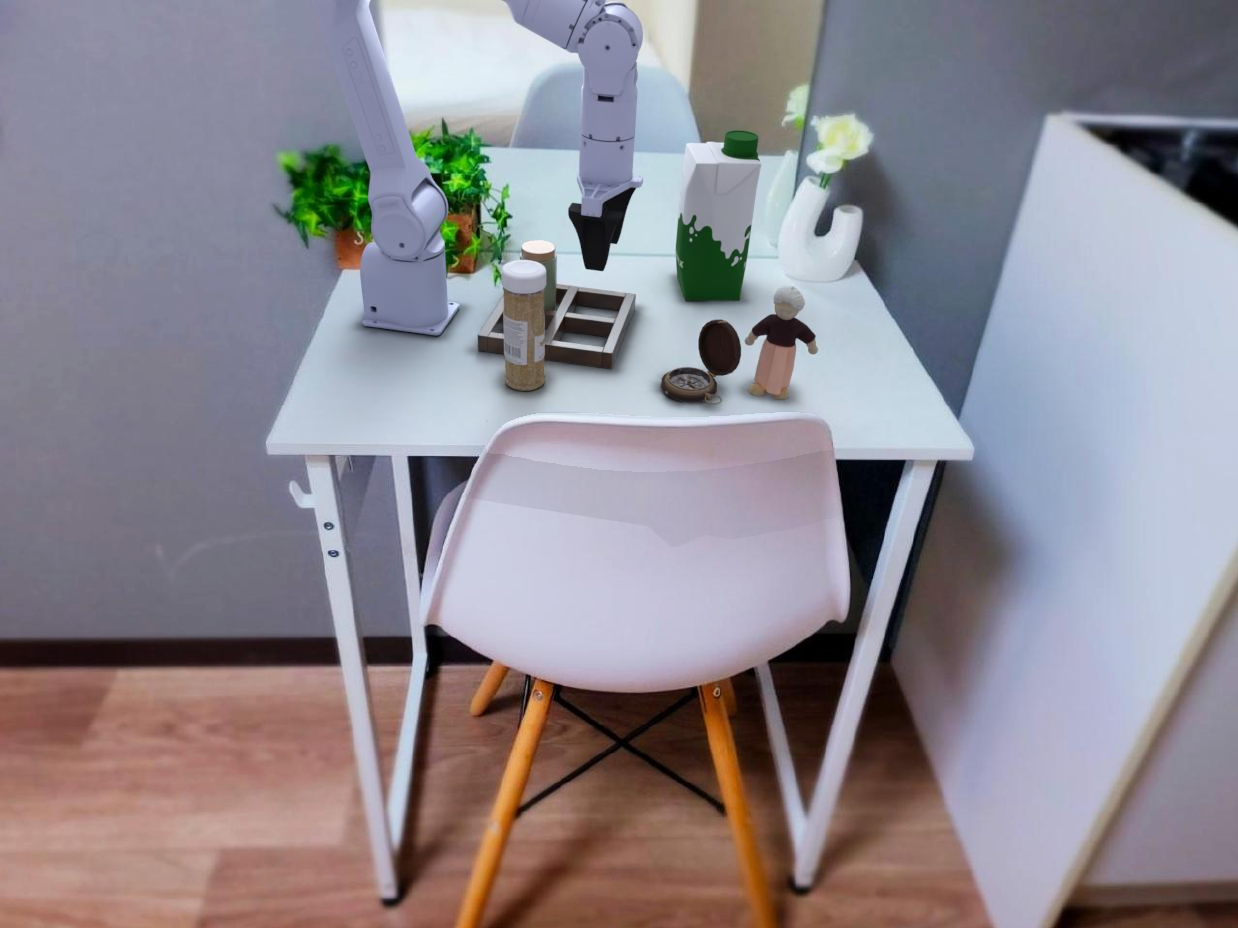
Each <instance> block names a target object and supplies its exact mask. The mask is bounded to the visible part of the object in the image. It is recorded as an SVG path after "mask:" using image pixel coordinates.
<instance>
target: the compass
mask: <svg viewBox="0 0 1238 928" xmlns="http://www.w3.org/2000/svg"><path fill="white" fill-rule="evenodd" d="M697 342H698V344H697V345H698V346H697V349H698V353H699V357H700V360H701V363H702V364H703V365H704V367H705V368H706V370H707V371H705V370H703V369H701V368H696V367H691V366H682V367H677V368H674V369H672V370H670V371H668V372H666V373H665V374H664V375H662V377H661V382H660V388H661V390H662V392H663V393H664V394H665V395H666V396H667V397H670V398H672V399H674V400H675V401H679V402H684V403H699V402H706V403H708V404H710V405H719V404H720V403H722V401H723V399H722V397H721V396H720V395H717V394H716V393H717V390H718V382H717V380H716V377H723V376H724V377H725V376H728V375H730V374H733V373H734V371H736V370H737V369H738V366H739V364H740V362H741V358H742V344H741V340H740V336H739V335H738V332H737V330H736V329H735V328H734V326H733V325H732V324H731V323H730V322H729V321H727V320H724V319H721V318H720V319H712V320H709V321H707V322H706V323H705V324H704V325H703V326H702V328H701V330H700V332H699V335H698V340H697ZM713 397H717V398H718V399H720V400H719V401H718V402H712V401H710V400H712V399H713ZM708 400H709V401H708Z"/></svg>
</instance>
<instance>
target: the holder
mask: <svg viewBox="0 0 1238 928" xmlns="http://www.w3.org/2000/svg"><path fill="white" fill-rule="evenodd" d="M636 297H637V294H636V293H630V292H623V291H615V290H607V289H601V288H600V289H599V288H591V287H585V286H584V287H583V286H575V285H568V284H561V283H557V286H556V304H557V303H558V304H559V305H558V307H557V308H556V311H552V310H545V309H544V316H545V356H544V361H551V362H557V363H564V364H565V363H566V364H573V365H579V366H587V367H594V368H601V369H608V370H609V369H610V370H611V369H613V367H614V364H615V361H616V359H617V355H618V354H619V351H620V348H621V346H622V343H623V340H624V338H625V336H626V333H627V330H628V328H629V325H630V322H631V320H632V317H633V315H634V312H635V309H636ZM577 306H580V307H581V306H582V307H588V308H589V307H590V308H596V309H604V310H612V311H618V312H617V315H616V318H612V317H606V316H598V315H590V314H581V313H574V312H575V309H576V307H577ZM503 311H504V295H502V297H501V298H500V300H499V301H498V303H497V305H496V306H495V308H494V309H493V311H492V312H491V314H490V316H489V317H488V319H487V320H486V322H485V323H484V325H483V327H481V329H480V331H479V332H478V334H477V351H478V352H484V353H485V352H487V353H492V354H499V355H504V333H501V331H502V330H503V329H504V325H503ZM564 332H567V333H573V334H579V335H580V334H582V335H588V336H595V337H602V338H607V339H606V342H605V343H604V346H597V345H590V344H588V345H587V344H582V343H575V342H569V341H568V342H566V341H561V338H562V336H563V334H564Z"/></svg>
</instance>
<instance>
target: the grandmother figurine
mask: <svg viewBox="0 0 1238 928" xmlns="http://www.w3.org/2000/svg"><path fill="white" fill-rule="evenodd" d="M805 302H806V300H805V298H804V296H803V294H802V292H801V291H800V290H799V289H797V288H796V287H795V286H794V285H783V286H780V287H779V288H778V289H777V290H776V291H775V293H774V294H773V304H774V313H772V314H768V315H766V316H764V318H763V319H760V321H759V322H757V323H756V324H755V325H754V326H753V327H751V330H750V332H749V333H748V336H747V337H745V339H744V343H745V345H746V346H747V347H750V346H753V345H754V343H755V341H757V340H758V339H759V337H762V336H766V337H765V339H764V341H763V343H762V346H761V349H760V353H759V357H758V361H757V365H756V369H755V373H754V379H753V381H754V382H753V383H752V384H750V385H749V386H748V388H747V392H748V393H749V394H750V395H753V396H757V397H758V396H759V397H761V396H764V395H765V394H766V393H767V394H770V396H771V397H772V398H773V399H777V400H787V399H788V398H789V397H790V394H789V390H788V388H789V387H790V384H791V379H792V376H793V372H794V367H795V360H796V356H797V343H796V340H799V341H800V342H802V343H804V344H805V345H806V347H807V351H808V353H809V354H810V355H817V354H818V352H819V348H818V346H817V341H816V337H817V335H816V334H815V332H813V330H812V329H811V328H810V327H809V326H808V325H807V324H806V323H804V322H803V321H802V320H800V319H798V318H797V315H798V314H799V312H801V311H802V310H803V309H804V308H805V305H806V303H805Z"/></svg>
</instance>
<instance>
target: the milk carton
mask: <svg viewBox="0 0 1238 928" xmlns="http://www.w3.org/2000/svg"><path fill="white" fill-rule="evenodd" d="M758 145H759V135H758V134H756V133H754V132H752V131H748V130H729V131H727V132H725V134H724V141H723V142H716V141H706V142H686V143H685V152H684V158H683V166H682V174H681V182H680V192H679V193H680V195H679V205H678V215H677V228H676V239H675V263H676V265H675V266H676V277H677V281H678V283H679V286H680V289H681V291H682V292H681V293H682V295H683V298H684V300H685V301H740V300H741V294H742V289H743V283H744V279H745V274H746V268H747V262H748V255H749V248H750V241H751V234H752V233H751V232H752V225H753V218H754V211H755V203H756V196H757V189H758V184H759V178H760V173H761V168H762V163H761V161H760V158H759V153H758Z"/></svg>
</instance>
